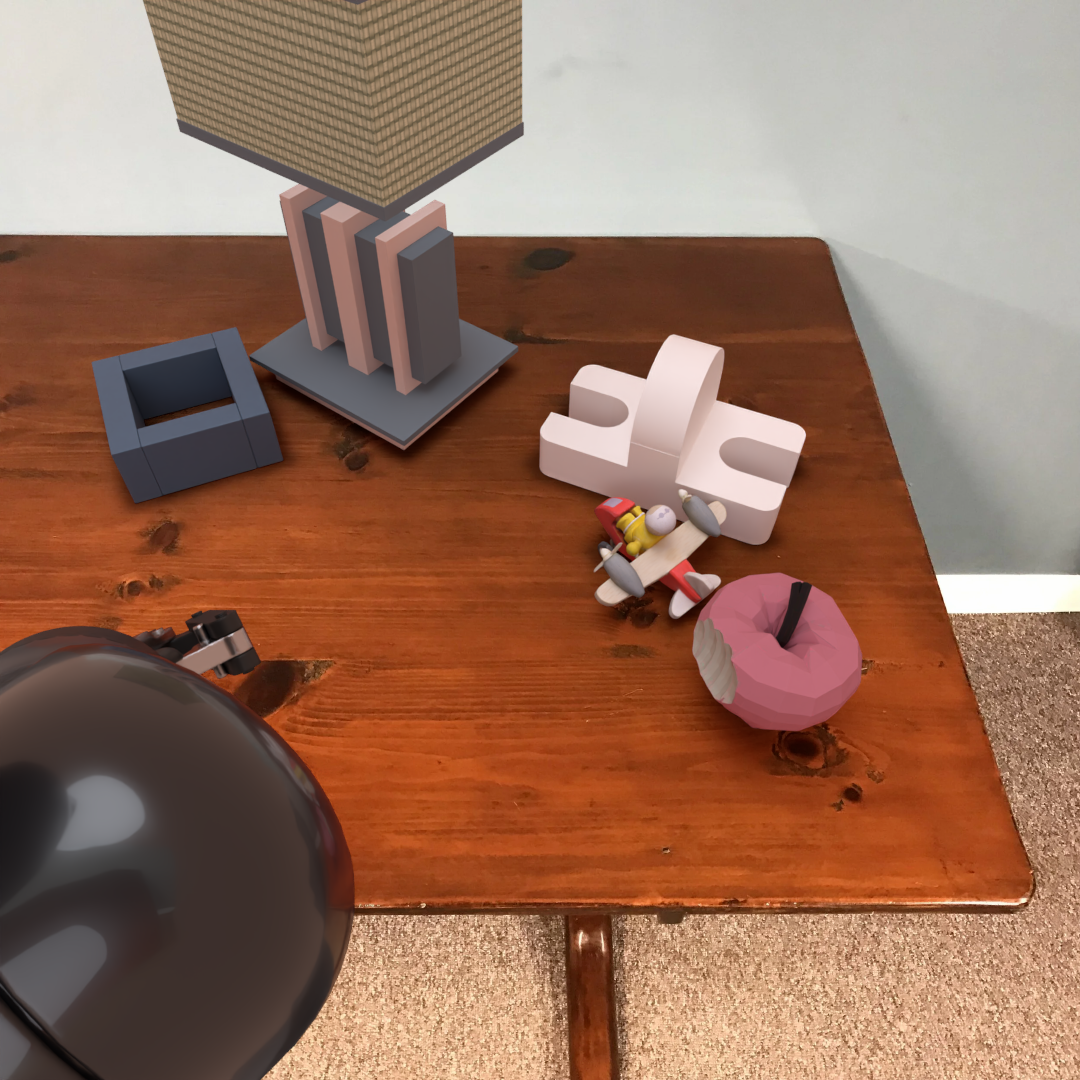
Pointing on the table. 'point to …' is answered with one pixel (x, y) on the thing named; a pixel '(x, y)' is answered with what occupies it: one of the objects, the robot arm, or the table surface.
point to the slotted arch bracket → (673, 440)
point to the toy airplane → (656, 550)
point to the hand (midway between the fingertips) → (91, 682)
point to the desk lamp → (359, 177)
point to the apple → (777, 652)
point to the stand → (192, 441)
